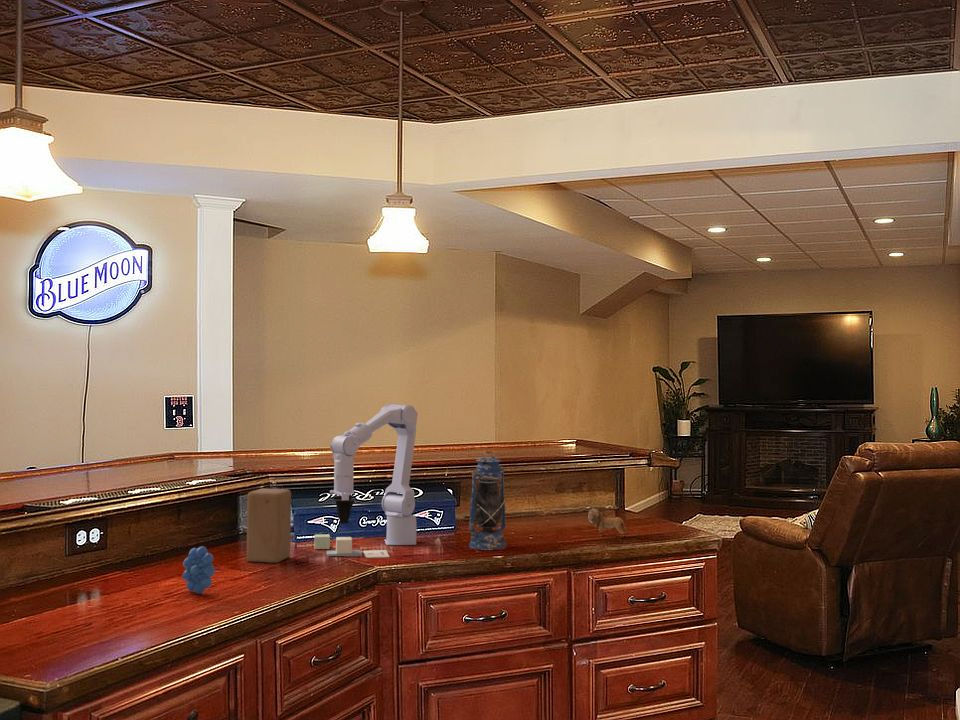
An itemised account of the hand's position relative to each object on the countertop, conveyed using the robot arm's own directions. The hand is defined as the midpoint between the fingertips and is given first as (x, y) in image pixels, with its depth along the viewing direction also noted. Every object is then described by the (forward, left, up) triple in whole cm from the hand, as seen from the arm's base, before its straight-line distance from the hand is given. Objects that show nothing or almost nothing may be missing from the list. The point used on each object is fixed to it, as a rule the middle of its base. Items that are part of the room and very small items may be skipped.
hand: (343, 521), depth 298 cm
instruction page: (-10, +1, -10) cm, 14 cm away
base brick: (0, +1, -10) cm, 11 cm away
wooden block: (+22, +5, -10) cm, 24 cm away
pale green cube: (+6, -10, -10) cm, 15 cm away
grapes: (+38, +44, -10) cm, 58 cm away
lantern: (-45, -5, -10) cm, 47 cm away
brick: (0, +1, -9) cm, 9 cm away
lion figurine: (-89, -18, -10) cm, 92 cm away
